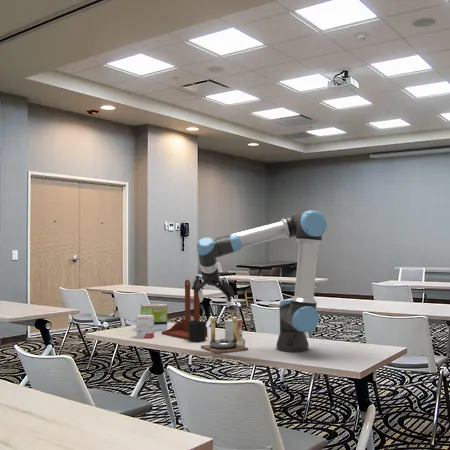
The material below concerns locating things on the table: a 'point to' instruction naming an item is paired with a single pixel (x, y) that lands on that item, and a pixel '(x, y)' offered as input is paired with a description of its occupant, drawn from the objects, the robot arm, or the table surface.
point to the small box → (230, 329)
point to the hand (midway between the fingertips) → (215, 302)
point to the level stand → (227, 350)
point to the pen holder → (197, 331)
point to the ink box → (145, 326)
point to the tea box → (156, 315)
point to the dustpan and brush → (182, 327)
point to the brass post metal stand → (224, 342)
